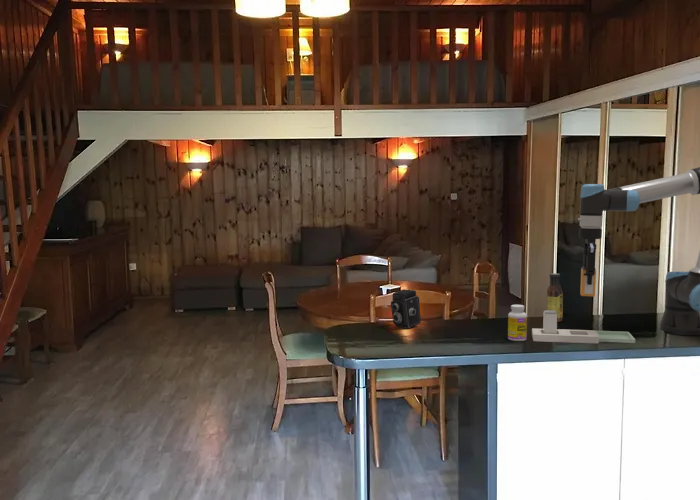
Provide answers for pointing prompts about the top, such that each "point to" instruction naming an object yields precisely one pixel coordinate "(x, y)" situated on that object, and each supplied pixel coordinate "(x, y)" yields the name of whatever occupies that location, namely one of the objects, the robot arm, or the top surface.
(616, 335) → the tray
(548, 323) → the twin plug
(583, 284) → the plug
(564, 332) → the pdu strip
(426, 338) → the top surface
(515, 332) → the supplement bottle
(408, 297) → the camera
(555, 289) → the sauce bottle
